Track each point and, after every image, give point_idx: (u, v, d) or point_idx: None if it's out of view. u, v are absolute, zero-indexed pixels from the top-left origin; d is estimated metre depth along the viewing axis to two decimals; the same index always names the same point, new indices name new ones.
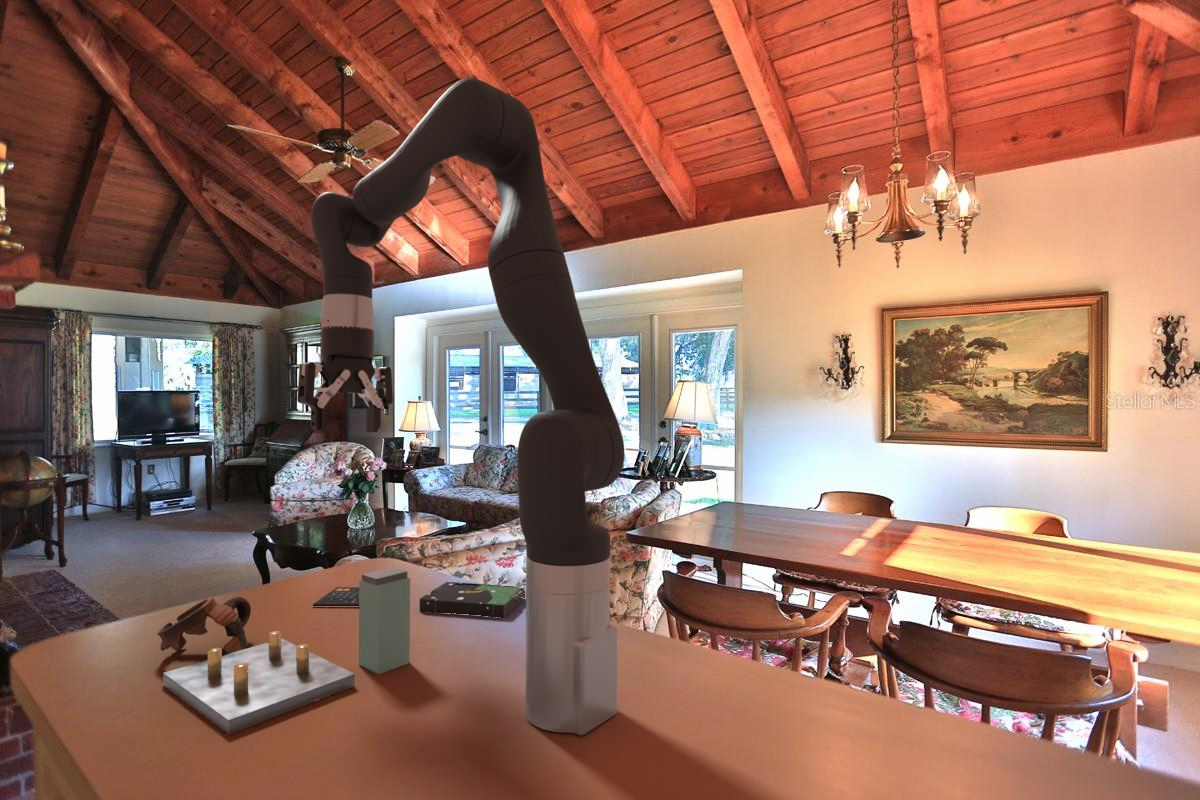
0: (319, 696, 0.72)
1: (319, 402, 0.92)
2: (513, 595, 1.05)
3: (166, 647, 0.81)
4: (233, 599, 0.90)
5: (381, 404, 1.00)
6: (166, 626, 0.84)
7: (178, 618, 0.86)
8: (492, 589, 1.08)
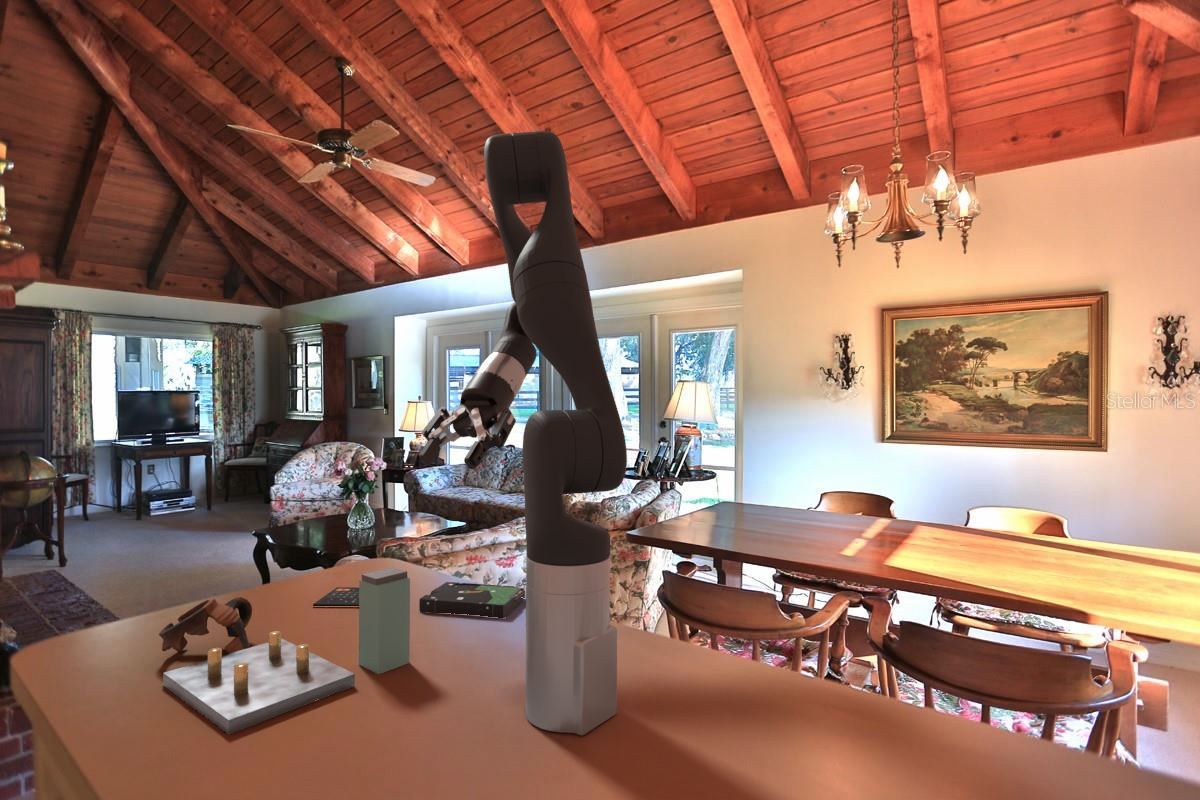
0: (319, 696, 0.72)
1: (431, 433, 0.97)
2: (513, 595, 1.04)
3: (168, 648, 0.81)
4: (234, 599, 0.89)
5: (483, 437, 0.92)
6: (167, 627, 0.84)
7: (179, 619, 0.86)
8: (492, 589, 1.08)
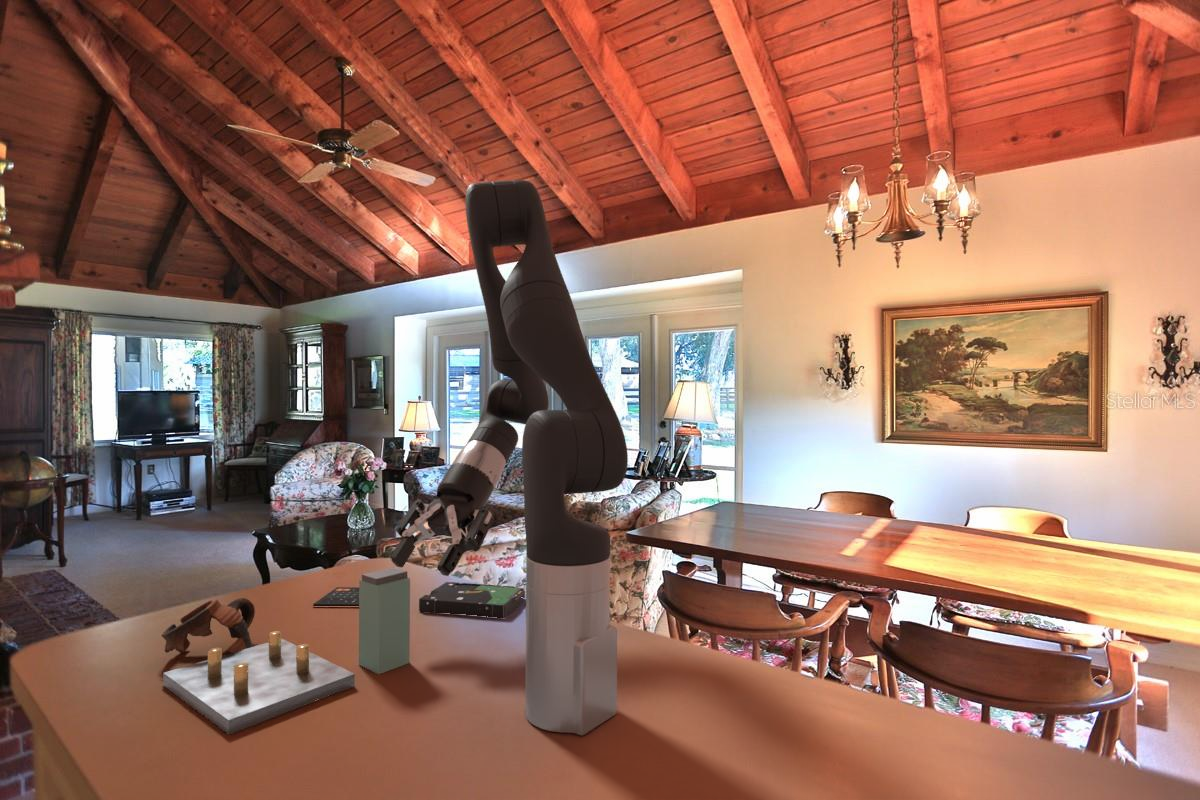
0: (319, 696, 0.72)
1: (405, 531, 0.92)
2: (513, 595, 1.04)
3: (171, 649, 0.80)
4: (237, 600, 0.89)
5: (458, 540, 0.87)
6: (170, 628, 0.83)
7: (182, 620, 0.85)
8: (491, 590, 1.08)
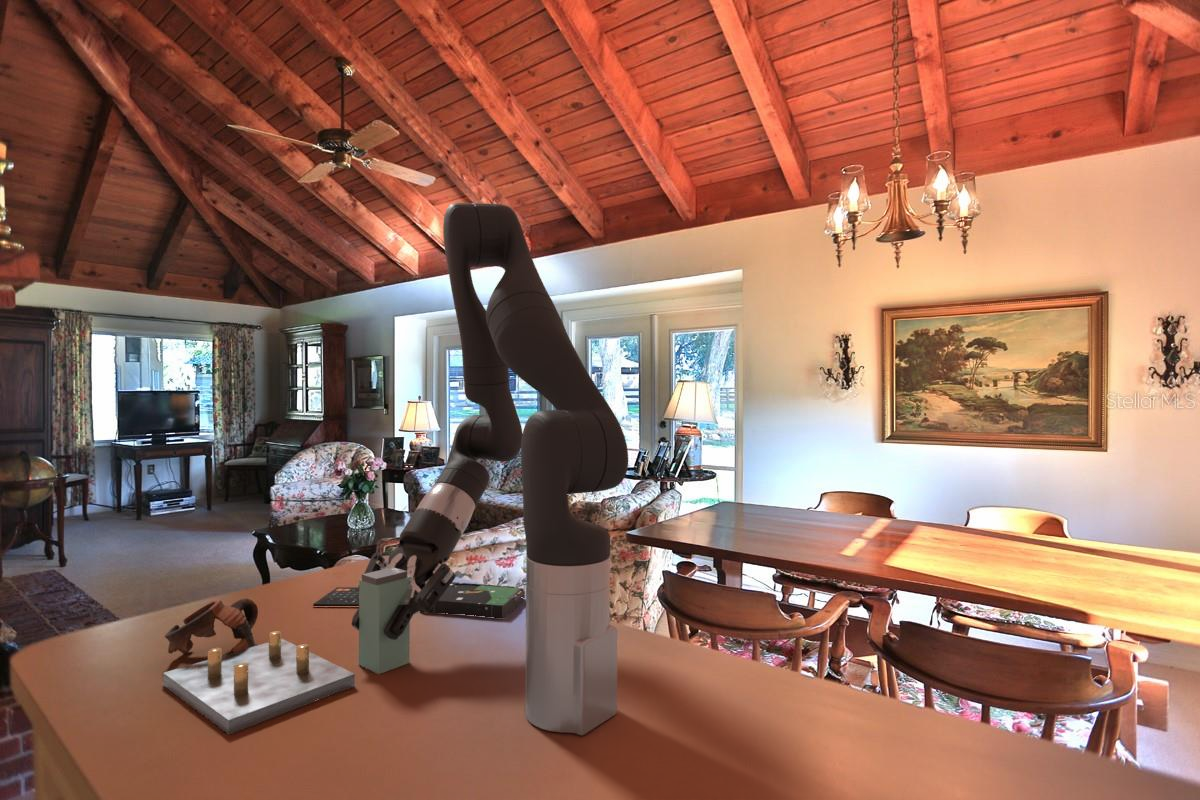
0: (319, 696, 0.72)
1: None
2: (512, 595, 1.04)
3: (174, 650, 0.80)
4: (240, 601, 0.89)
5: (407, 600, 0.81)
6: (173, 629, 0.83)
7: (185, 620, 0.85)
8: (491, 590, 1.08)
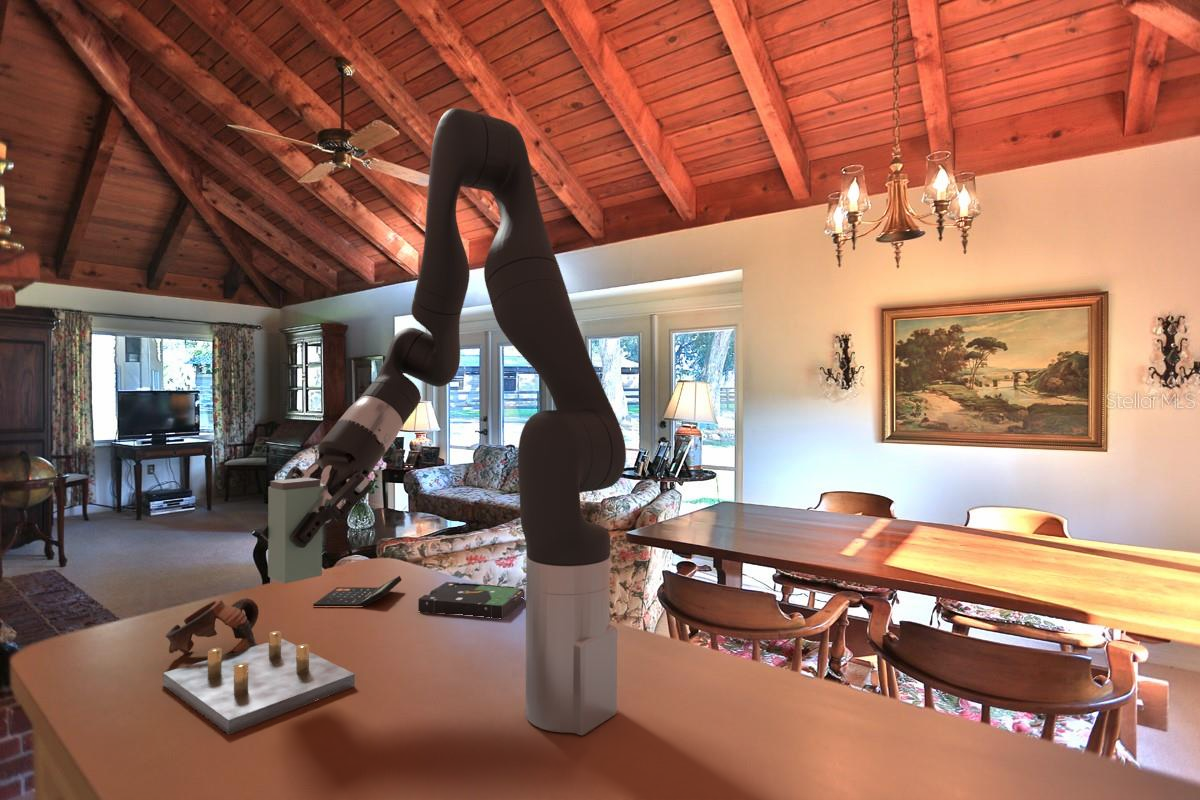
0: (319, 696, 0.72)
1: None
2: (512, 596, 1.04)
3: (175, 649, 0.80)
4: (241, 601, 0.89)
5: (317, 508, 0.76)
6: (174, 628, 0.83)
7: (186, 620, 0.85)
8: (491, 590, 1.07)
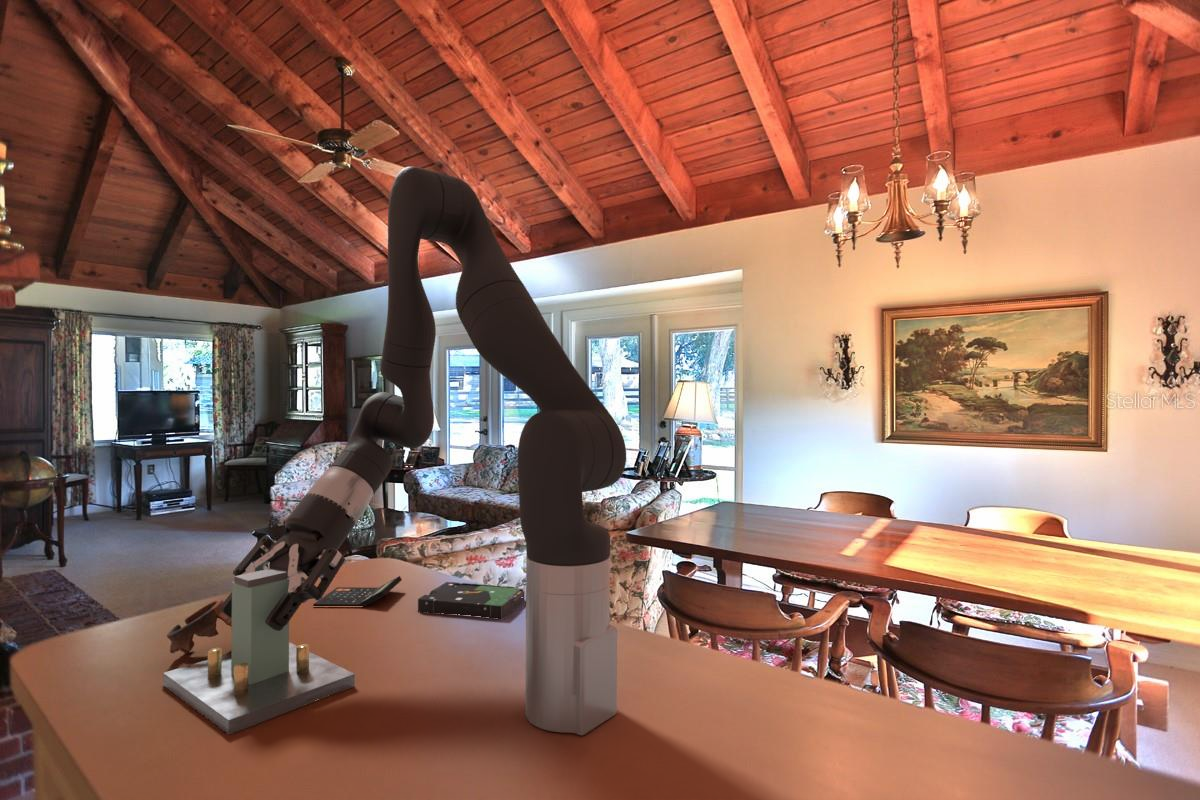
0: (319, 696, 0.72)
1: None
2: (511, 596, 1.04)
3: (176, 649, 0.80)
4: None
5: (294, 588, 0.74)
6: (175, 628, 0.83)
7: (186, 620, 0.85)
8: (491, 590, 1.07)
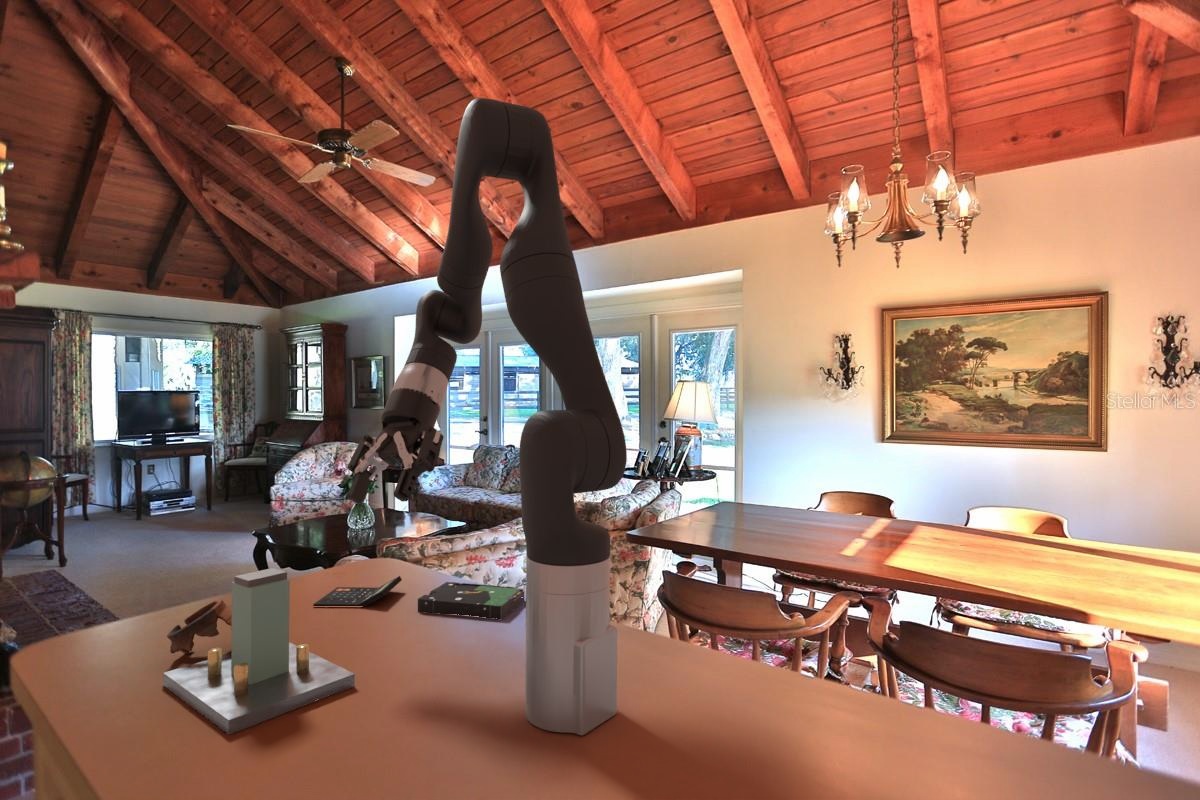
0: (319, 696, 0.72)
1: (357, 468, 0.89)
2: (511, 596, 1.04)
3: (177, 650, 0.80)
4: None
5: (409, 464, 0.85)
6: (175, 629, 0.83)
7: (186, 620, 0.85)
8: (491, 590, 1.07)
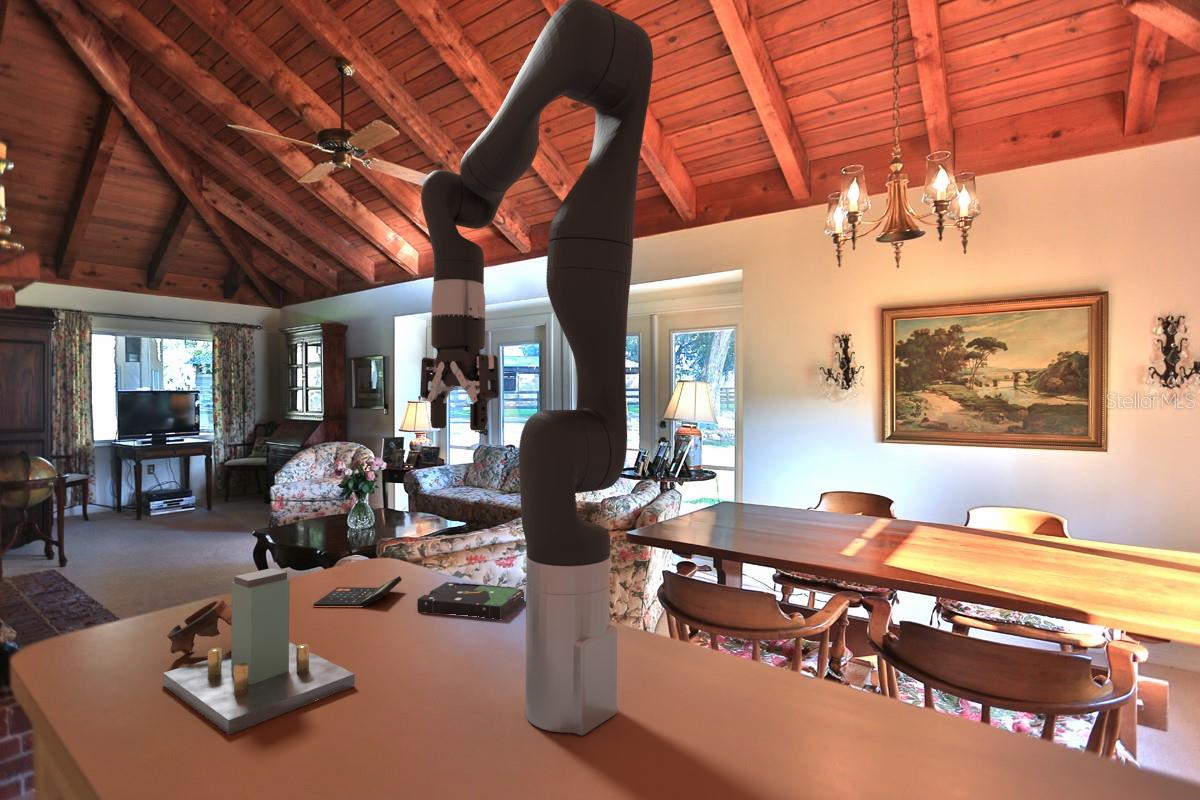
0: (319, 696, 0.72)
1: (429, 396, 0.92)
2: (511, 596, 1.04)
3: (178, 650, 0.80)
4: None
5: (475, 398, 0.86)
6: (175, 629, 0.83)
7: (186, 620, 0.85)
8: (490, 590, 1.07)
